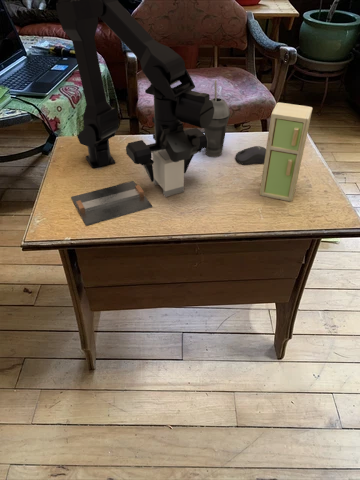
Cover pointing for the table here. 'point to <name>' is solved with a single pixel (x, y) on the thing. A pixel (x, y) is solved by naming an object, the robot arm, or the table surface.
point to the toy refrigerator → (284, 150)
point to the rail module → (168, 173)
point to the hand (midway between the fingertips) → (168, 176)
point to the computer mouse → (251, 155)
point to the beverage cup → (217, 126)
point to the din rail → (110, 202)
